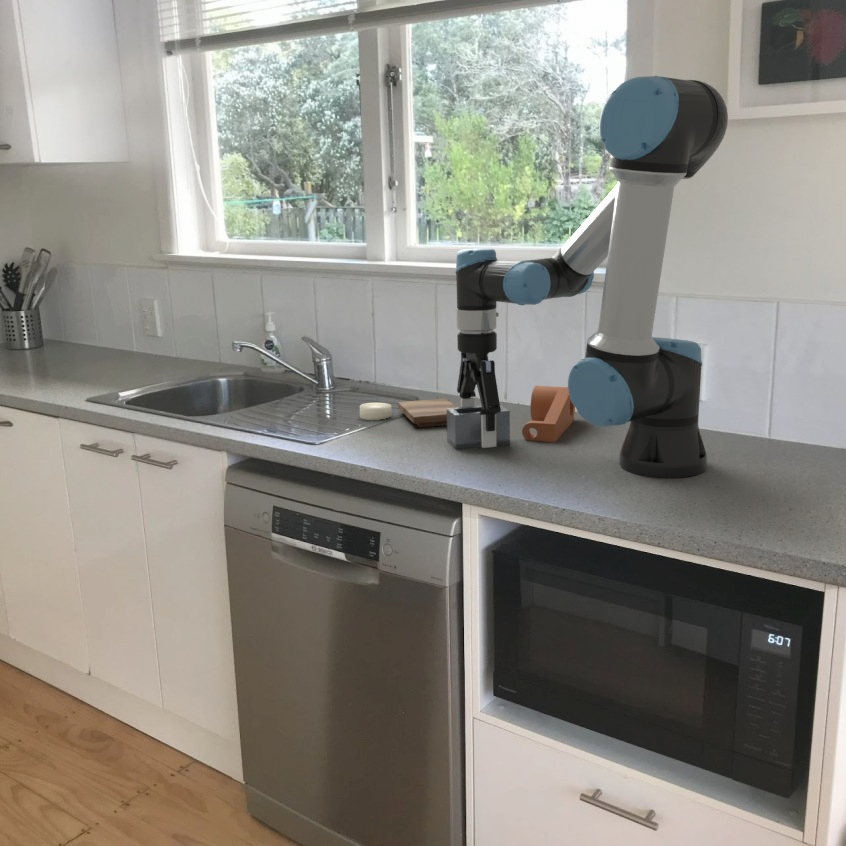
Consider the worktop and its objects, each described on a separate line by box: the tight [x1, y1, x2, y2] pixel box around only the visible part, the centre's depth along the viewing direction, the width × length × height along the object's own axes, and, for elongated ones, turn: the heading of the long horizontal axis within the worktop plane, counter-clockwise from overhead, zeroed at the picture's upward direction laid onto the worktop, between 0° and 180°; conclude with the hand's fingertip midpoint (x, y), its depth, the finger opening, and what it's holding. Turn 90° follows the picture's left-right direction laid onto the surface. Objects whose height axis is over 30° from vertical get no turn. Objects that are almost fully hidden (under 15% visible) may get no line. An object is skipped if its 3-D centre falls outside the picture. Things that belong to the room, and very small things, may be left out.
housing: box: [446, 404, 511, 451], centre depth 180 cm, size 6×11×7 cm, turn 104°
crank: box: [521, 385, 576, 443], centre depth 191 cm, size 20×8×8 cm, turn 160°
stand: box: [397, 397, 458, 428], centre depth 201 cm, size 15×11×3 cm
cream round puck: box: [359, 402, 392, 421], centre depth 204 cm, size 7×7×3 cm
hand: (478, 438), depth 181 cm, fingers open, 13 cm apart
